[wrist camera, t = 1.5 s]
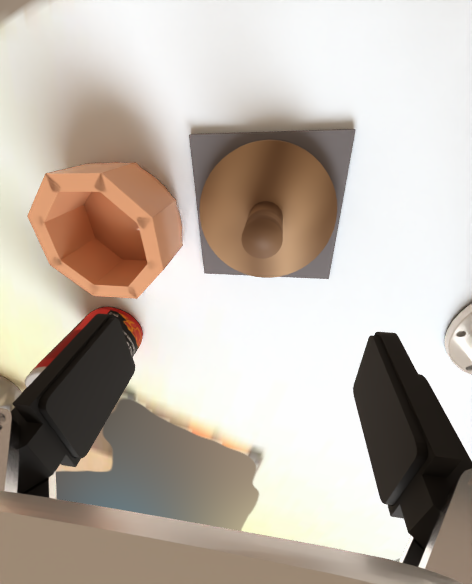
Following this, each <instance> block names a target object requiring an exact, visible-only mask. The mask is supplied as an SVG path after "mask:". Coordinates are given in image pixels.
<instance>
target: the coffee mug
mask: <svg viewBox="0 0 472 584" xmlns="http://www.w3.org/2000/svg"><path fill="white" fill-rule="evenodd" d="M21 394H22V392H21V391H20V390H19V388H18V387H17V386H16V385H15V384H13V383H12V382H11V381H9V380H8V379H6V378H4V377H2V376H0V408H5V409H8V410H9V411H10V412H11V411H12V410H13V409H14V405H13V404H12V403H13V402H14V401H15V400H16V399H17V398H18V397H19V396H20V395H21Z"/></svg>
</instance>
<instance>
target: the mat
mask: <svg viewBox="0 0 472 584" xmlns="http://www.w3.org/2000/svg"><path fill="white" fill-rule="evenodd" d="M354 135H355V129H345V130H313V131H282V132H251V133H220V134H191V135H189V138H190V147H191V156H192V165H193V174H194V183H195V192H196V201H197V210H198V219H199V228H200V237H201V246H202V255H203V264H204V273H208V274H230V275H247V274H244V273H241V272H239V271H237V270H235V269H233V268H231V267H230V266H228V265H227V264H226V263H224V262H223V261H222V260H221V259H220V258H219V257H218V256H217V255H216V254H215V253H214V251H213V250H212V249H211V247H210V246H209V244H208V242H207V240H206V238H205V236H204V234H203V230H202V227H201V222H200V211H199V208H200V199H201V194H202V190H203V187H204V185H205V182H206V180H207V178H208V176H209V174H210V173H211V172H212V170H213V169H214V167H215V166H216V165H217V164H218V163H219V162H220V161H221V160H222V159H223V158H224V157H225V156H227V155H228V154H229V153H231V152H232V151H234V150H235V149H237V148H239V147H241V146H243V145H246V144H248V143H251V142H255V141H259V140H281V141H286V142H289V143H292V144H295V145H298V146H299V147H301V148H303V149H305V150H306V151H308V152H309V153H310V154H312V155H313V156H314V157H315V158H316V159H317V160H318V161H319V162H320V163H321V164H322V166H323V167H324V169H325V170H326V171H327V173H328V175H329V177H330V179H331V181H332V183H333V186H334V189H335V192H336V198H337V218H336V223H335V227H334V230H333V233H332V235H331V238H330V239H329V241H328V243H327V245H326V246H325V248H324V249H323V250H322V252H321V253H320V254H319V255H318V256H317V257H316V258H315V259H314V260H313V261H312V262H310V263H309V264H308V265H306V266H305V267H303V268H301V269H299V270H297V271H295V272H293V273H290V274H288V275H283V276H279V277H297V278H320V279H329V274H330V268H331V263H332V257H333V252H334V246H335V241H336V235H337V229H338V224H339V218H340V213H341V207H342V202H343V196H344V190H345V185H346V179H347V174H348V168H349V163H350V157H351V152H352V146H353V140H354Z"/></svg>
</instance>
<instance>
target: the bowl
mask: <svg viewBox="0 0 472 584" xmlns="http://www.w3.org/2000/svg"><path fill="white" fill-rule="evenodd" d="M28 218H29V220H30V223H31V225H32V227H33V229H34V231H35V233H36V236H37V238H38V240H39V242H40V244H41V246H42V249H43V251H44V253H45V255H46V257H47V259H48V262H49V264H50V265H51V266H52V267H54V268H55V269H56V270H58V271H59V272H61V273H62V274H63V275H65V276H66V277H67V278H69V279H70V280H72V281H73V282H74V283H76V284H77V285H79V286H80V287H81V288H83V289H84V290H86V291H87V292H88V293H90V294H91V295H93V296H103V297H120V298H136V299H137V298H138V297H139V296H140V295H141V294H142V293H143V291H144V290H145V289H146V288H147V287H148V286H149V285H150V284H151V283H152V282H153V280H154V279H155V278H156V277H157V276H158V275H159V274H160V273H161V272H162V271H163V270H164V268H165V267H166V266H167V265H168V263H169V262H170V261H171V260H172V258H173V257H174V256H175V255H176V253H177V252H178V251H179V249H180V248H181V247H182V246H183V244H182V237H181V236H182V223H181V218H180V213H179V211H178V208H177V204H176V200H175V199H174V198H173V197H172V196H171V194H170V193H169V192H168V190H167V189H166V188H165V186H164V185H163V184H162V183H161V182H160V181H159V180H158V179H156V178H155V177H154V176H153V175H151V174H150V173H148V172H147V171H145V170H143V169H142V168H141V167H140V166H139V165H138V164H137V163H136V162H135V163H122V162H111V163H88V164H84V165H79V166H75V167H71V168H67V169H62V170H58V171H54V172H50V173H46V174H45V176H44V178H43V181H42V183H41V185H40V188H39V190H38V192H37V195H36V197H35V199H34V202H33V204H32V206H31V209H30V211H29V213H28Z"/></svg>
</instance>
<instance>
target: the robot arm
mask: <svg viewBox="0 0 472 584" xmlns="http://www.w3.org/2000/svg"><path fill="white" fill-rule="evenodd" d="M445 349H446V352H447V354H448V356H449V357H450V359H451V360H452V362H453V363H454V364H455V365H456V366H457V367H458V368H460V369H461V370H462V371H464V372H466V373H469V374H471V375H472V303H471V304H470V305H469V306H467V307H466V308H465V309H464V310H463V311H461V312H460V313H459V314H458V316H457V317H456V318H455V319H454V320H453V321H452V323H451V324H450V326H449V328H448V330H447V332H446V336H445ZM134 371H135V364H134V361H133V358H132V355H131V352H130V349H129V347H128V344H127V341H126V338H125V335H124V332H123V329H122V327H121V324H120V321H119V319H117V318H116V317H115V316H114V315H113V314H100V313H99V314H96V315H95V316H94V317H93V318H92V319H91V320H90V321H89V322H88V324H87V325H86V326H85V327H84V328H83V329H82V330H81V331H80V332H79V333H78V334H77V335H76V336H75V337H74V338H73V339H72V340H71V342H70V343H69V344H68V345H67V346H66V347H65V348H64V349H63V350H62V351H61V352H60V353H59V354H58V355H57V356H56V357H55V359H54V360H53V361H52V362H51V363H50V364H49V365H48V366H47V367H46V368H45V369H44V370H43V371H42V372H41V373H40V374H39V375H38V377H37V378H36V379H35V380H34V381H33V382H32V383H31V384H30V385H29V386H28V387H27V388H26V389H25V390H24V391H23V392H22V394H21V395H20V396H19V397H18V398H17V399H16V400H15V401H14V402H13V403H12V404H13V405H14V409H13V410H12V411H11V412H10V411H9V410H8V409H5V408H0V584H472V461H471V459H470V458H469V456H468V454H467V452H466V450H465V448H464V447H463V445H462V443H461V441H460V439H459V438H458V436H457V434H456V432H455V430H454V428H453V427H452V425H451V423H450V421H449V419H448V418H447V416H446V414H445V412H444V410H443V408H442V407H441V405H440V403H439V401H438V399H437V397H436V396H435V394H434V392H433V390H432V388H431V387H430V385H429V383H428V381H427V380H426V378H425V377H424V376H422V375H420V374H418V373H417V371H416V369H415V368H414V366H413V364H412V362H411V360H410V358H409V356H408V354H407V352H406V350H405V349H404V347H403V345H402V343H401V341H400V339H399V337H398V336H397V334H395V333H387V332H376V333H375V335H374V336H370V337H369V339H368V342H367V345H366V348H365V351H364V355H363V358H362V361H361V364H360V367H359V370H358V374H357V377H356V380H355V383H354V387H353V393H354V398H355V402H356V406H357V410H358V414H359V418H360V421H361V425H362V429H363V433H364V437H365V441H366V445H367V449H368V453H369V457H370V461H371V464H372V468H373V472H374V476H375V480H376V484H377V488H378V492H379V495H380V499H381V501H382V502H383V503H384V504H388V508H389V512H390V515H391V516H392V517H398V518H404V520H405V523H406V527H407V530H408V533H409V534H410V535H411V536H410V538H409V541H408V543H407V545H406V547H405V550H404V552H403V554H402V556H401V558H400V561H399V562H397V561H393V560H389V559H385V558H380V557H375V556H370V555H365V554H360V553H355V552H350V551H345V550H340V549H335V548H330V547H325V546H320V545H314V544H309V543H303V542H298V541H292V540H287V539H281V538H276V537H270V536H265V535H259V534H254V533H248V532H243V531H237V530H232V529H226V528H220V527H215V526H209V525H204V524H198V523H192V522H186V521H181V520H175V519H169V518H164V517H158V516H153V515H147V514H141V513H135V512H130V511H124V510H118V509H112V508H106V507H101V506H94V505H89V504H83V503H77V502H71V501H65V500H59V499H57V498H56V474H55V471H56V469H57V468H58V466H59V465H60V464H61V465H65V466H72V467H76V466H77V464H78V462H79V461H80V459H81V458H83V457H85V456H86V455H87V453H88V452H89V450H90V448H91V446H92V445H93V443H94V441H95V440H96V438H97V436H98V434H99V433H100V431H101V429H102V427H103V426H104V424H105V422H106V420H107V419H108V417H109V415H110V414H111V412H112V410H113V408H114V407H115V405H116V403H117V402H118V400H119V398H120V396H121V395H122V393H123V391H124V389H125V388H126V386H127V384H128V383H129V381H130V379H131V377H132V376H133V374H134Z"/></svg>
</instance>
